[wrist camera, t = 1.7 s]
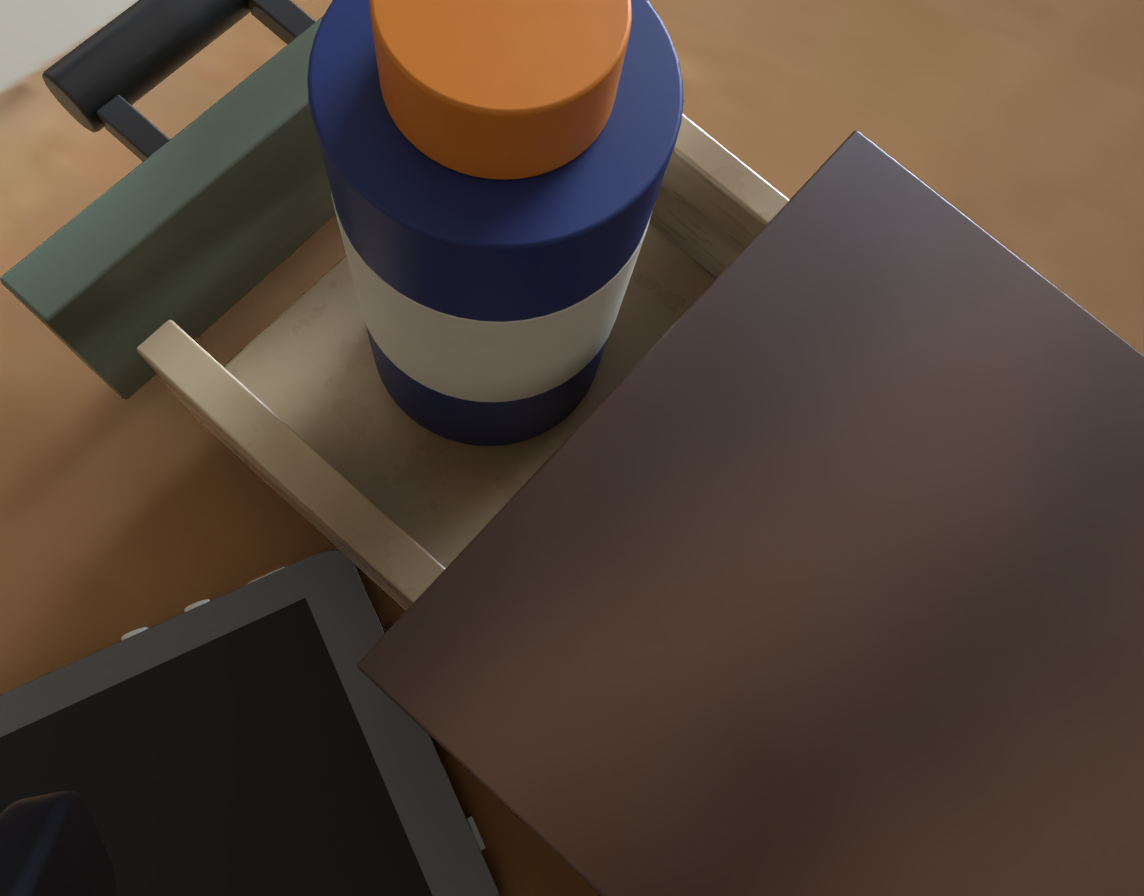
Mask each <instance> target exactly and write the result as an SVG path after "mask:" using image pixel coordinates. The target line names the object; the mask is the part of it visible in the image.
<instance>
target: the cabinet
mask: <svg viewBox="0 0 1144 896" xmlns="http://www.w3.org/2000/svg"><path fill="white" fill-rule="evenodd" d="M357 668H358V669H359V670H360V671H361V672H362V673H363V674H365V675H366V676H367V677H368V678H369V679H370V680H371V681H372V682H373V683H374V684H375V685H376V686H377V687H378V688H380V689H381V690H382V691H383V692H384V693H385V694H386V695H387V696H388V697H389V698H390V699H391V700H392V701H393V702H394V703H396V704H397V705H398V706H399V707H400V708H401V709H402V710H403V711H404V712H405V713H406V714H407V715H408V716H409V717H411V718H412V719H413V720H414V721H415V722H416V723H417V724H418V725H419V726H420V727H421V728H422V729H423V730H424V731H426V732H427V733H428V734H429V735H430V736H431V737H432V738H433V739H434V740H435V741H436V742H437V743H438V744H439V745H441V746H442V747H443V748H444V749H445V750H446V751H447V752H448V753H449V754H450V755H451V756H452V757H453V758H454V759H455V760H457V761H458V762H459V763H460V764H461V765H462V766H463V767H464V768H465V769H466V770H467V771H468V772H469V773H470V774H472V775H473V776H474V777H475V778H476V779H477V780H478V781H479V782H480V783H481V784H482V785H483V786H484V787H485V788H487V789H488V790H489V791H490V792H491V793H492V794H493V795H494V796H495V797H496V798H497V799H498V800H499V801H500V802H502V803H503V804H504V805H505V806H506V807H507V808H508V809H509V810H510V811H511V812H512V813H513V814H514V815H515V816H516V817H518V818H519V819H520V820H521V821H522V822H523V823H524V824H525V825H526V826H527V827H528V828H529V829H530V830H531V831H533V832H534V833H535V834H536V835H537V836H538V837H539V838H540V839H541V840H542V841H543V842H544V843H545V844H546V845H548V846H549V847H550V848H551V849H552V850H553V851H554V852H555V853H556V854H557V855H558V856H559V857H560V858H561V859H563V860H564V861H565V862H566V863H567V864H568V865H569V866H570V867H571V868H572V869H573V870H574V871H575V872H576V873H577V874H579V875H580V876H581V877H582V878H583V879H584V880H585V881H586V882H587V883H588V884H589V885H590V886H591V887H592V888H594V889H595V890H596V891H597V892H598V893H599V894H600V895H601V896H1144V356H1143V355H1142V354H1141V353H1140V352H1138V351H1137V350H1136V349H1135V348H1133V347H1132V346H1131V345H1129V344H1128V343H1127V342H1126V341H1124V340H1123V339H1122V338H1121V337H1119V336H1118V335H1117V334H1116V333H1114V332H1113V331H1112V330H1110V329H1109V328H1108V327H1107V326H1105V325H1104V324H1103V323H1102V322H1100V321H1099V320H1098V319H1096V318H1095V317H1094V316H1093V315H1091V314H1090V313H1089V312H1088V311H1086V310H1085V309H1084V308H1082V307H1081V306H1080V305H1079V304H1077V303H1076V302H1075V301H1074V300H1072V299H1071V298H1070V297H1069V296H1067V295H1066V294H1065V293H1063V292H1062V291H1061V290H1060V289H1058V288H1057V287H1056V286H1055V285H1053V284H1052V283H1051V282H1049V281H1048V280H1047V279H1046V278H1044V277H1043V276H1042V275H1041V274H1039V273H1038V272H1037V271H1035V270H1034V269H1033V268H1032V267H1030V266H1029V265H1028V264H1027V263H1025V262H1024V261H1023V260H1022V259H1020V258H1019V257H1018V256H1016V255H1015V254H1014V253H1013V252H1011V251H1010V250H1009V249H1008V248H1006V247H1005V246H1004V245H1002V244H1001V243H1000V242H999V241H997V240H996V239H995V238H994V237H992V236H991V235H990V234H988V233H987V232H986V231H985V230H983V229H982V228H981V227H980V226H978V225H977V224H976V223H975V222H973V221H972V220H971V219H969V218H968V217H967V216H966V215H964V214H963V213H962V212H961V211H959V210H958V209H957V208H955V207H954V206H953V205H952V204H950V203H949V202H948V201H947V200H945V199H944V198H943V197H941V196H940V195H939V194H938V193H936V192H935V191H934V190H933V189H931V188H930V187H929V186H928V185H926V184H925V183H924V182H922V181H921V180H920V179H919V178H917V177H916V176H915V175H914V174H912V173H911V172H910V171H908V170H907V169H906V168H905V167H903V166H902V165H901V164H900V163H898V162H897V161H896V160H894V159H893V158H892V157H891V156H889V155H888V154H887V153H886V152H884V151H883V150H882V149H881V148H879V147H878V146H877V145H875V144H874V143H873V142H872V141H870V140H869V139H868V138H867V137H865V136H864V135H863V134H861V133H860V132H859V131H857V130H856V131H854V132H853V133H852V134H851V135H850V136H849V137H848V138H847V139H846V140H845V141H844V142H843V143H842V144H841V146H840V147H839V148H838V149H837V150H836V151H835V152H834V153H833V154H832V155H831V156H830V157H829V158H828V159H827V161H826V162H825V163H824V164H823V165H822V166H821V167H820V168H819V169H818V170H817V171H816V172H815V173H814V174H813V176H812V177H811V178H810V179H809V180H808V181H807V182H806V183H805V184H804V185H803V186H802V187H801V188H800V189H799V191H798V192H797V193H796V194H795V195H794V196H793V197H792V198H791V199H790V200H789V201H788V202H787V203H786V204H785V206H784V207H783V208H782V209H781V210H780V211H779V212H778V213H777V214H776V215H775V216H774V217H773V218H772V219H771V221H770V222H769V223H768V224H767V225H766V226H765V227H764V228H763V229H762V230H761V231H760V232H759V233H758V234H757V236H756V237H755V238H754V239H753V240H752V241H751V242H750V243H749V244H748V245H747V246H746V247H745V248H744V249H743V250H742V252H741V253H740V254H739V255H738V256H737V257H736V258H735V259H734V260H733V261H732V262H731V263H730V264H729V265H728V267H727V268H726V269H725V270H724V271H723V272H722V273H721V274H720V275H719V276H718V277H717V278H716V279H715V280H714V282H713V283H712V284H711V285H710V286H709V287H708V288H707V289H706V290H705V291H704V292H703V293H702V294H701V295H700V297H699V298H698V299H697V300H696V301H695V302H694V303H693V304H692V305H691V306H690V307H689V308H688V309H687V310H686V312H685V313H684V314H683V315H682V316H681V317H680V318H679V319H678V320H677V321H676V322H675V323H674V324H673V325H672V327H671V328H670V329H669V330H668V331H667V332H666V333H665V334H664V335H663V336H662V337H661V338H660V339H659V340H658V342H657V343H656V344H655V345H654V346H653V347H652V348H651V349H650V350H649V351H648V352H647V353H646V354H645V355H644V357H643V358H642V359H641V360H640V361H639V362H638V363H637V364H636V365H635V366H634V367H633V368H632V369H631V370H630V372H629V373H628V374H627V375H626V376H625V377H624V378H623V379H622V380H621V381H620V382H619V383H618V384H617V385H616V387H615V388H614V389H613V390H612V391H611V392H610V393H609V394H608V395H607V396H606V397H605V398H604V399H603V400H602V402H601V403H600V404H599V405H598V406H597V407H596V408H595V409H594V410H593V411H592V412H591V413H590V414H589V415H588V416H587V418H586V419H585V420H584V421H583V422H582V423H581V424H580V425H579V426H578V427H577V428H576V429H575V430H574V431H573V433H572V434H571V435H570V436H569V437H568V438H567V439H566V440H565V441H564V442H563V443H562V444H561V445H560V446H559V448H558V449H557V450H556V451H555V452H554V453H553V454H552V455H551V456H550V457H549V458H548V459H547V460H546V461H545V463H544V464H543V465H542V466H541V467H540V468H539V469H538V470H537V471H536V472H535V473H534V474H533V475H532V476H531V478H530V479H529V480H528V481H527V482H526V483H525V484H524V485H523V486H522V487H521V488H520V489H519V490H518V491H517V493H516V494H515V495H514V496H513V497H512V498H511V499H510V500H509V501H508V502H507V503H506V504H505V505H504V506H503V508H502V509H501V510H500V511H499V512H498V513H497V514H496V515H495V516H494V517H493V518H492V519H491V520H490V521H489V523H488V524H487V525H486V526H485V527H484V528H483V529H482V530H481V531H480V532H479V533H478V534H477V535H476V536H475V538H474V539H473V540H472V541H471V542H470V543H469V544H468V545H467V546H466V547H465V548H464V549H463V550H462V551H461V553H460V554H459V555H458V556H457V557H456V558H455V559H454V560H453V561H452V562H451V563H450V564H449V565H448V566H447V568H446V569H445V570H444V571H443V572H442V573H441V574H440V575H439V576H438V577H437V578H436V579H435V580H434V581H433V583H432V584H431V585H430V586H429V587H428V588H427V589H426V590H425V591H424V592H423V593H422V594H421V595H420V596H419V597H418V599H417V600H416V601H415V602H414V603H413V604H412V605H411V606H410V607H409V608H408V609H407V610H406V611H405V612H404V614H403V615H402V616H401V617H400V618H399V619H398V620H397V621H396V622H395V623H394V624H393V625H392V626H391V627H390V629H389V630H388V631H387V632H386V633H385V634H384V635H383V636H382V637H381V638H380V639H379V640H378V641H377V642H376V644H375V645H374V646H373V647H372V648H371V649H370V650H369V651H368V652H367V653H366V654H365V655H364V656H363V657H362V659H361V660H360V661H359V662H358V663H357Z"/></svg>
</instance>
